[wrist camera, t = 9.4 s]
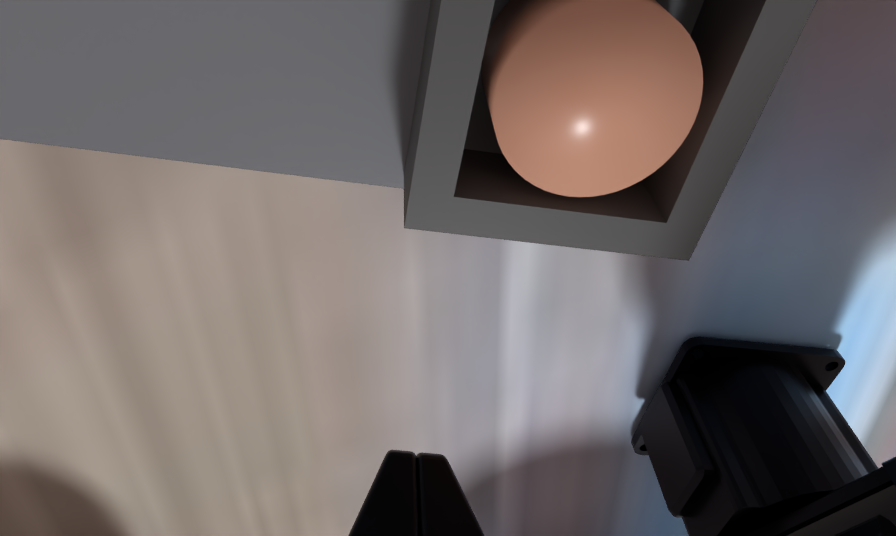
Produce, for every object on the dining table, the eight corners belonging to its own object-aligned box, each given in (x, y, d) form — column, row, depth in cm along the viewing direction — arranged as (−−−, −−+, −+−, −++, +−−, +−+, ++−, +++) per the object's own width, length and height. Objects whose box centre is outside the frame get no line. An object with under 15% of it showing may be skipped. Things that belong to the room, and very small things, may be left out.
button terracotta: (693, -16, 15) (739, 17, 13) (627, 157, 17) (657, 207, 15) (504, -51, 14) (521, -21, 12) (465, 135, 17) (474, 184, 15)
